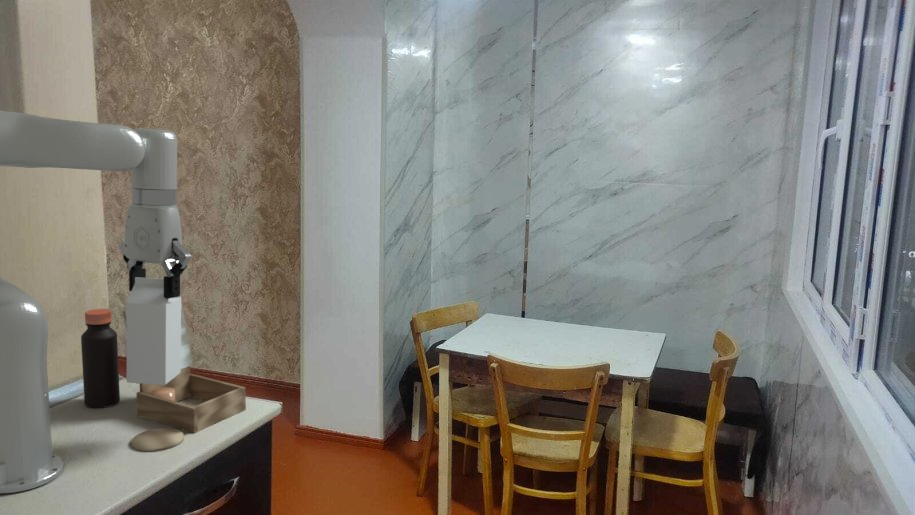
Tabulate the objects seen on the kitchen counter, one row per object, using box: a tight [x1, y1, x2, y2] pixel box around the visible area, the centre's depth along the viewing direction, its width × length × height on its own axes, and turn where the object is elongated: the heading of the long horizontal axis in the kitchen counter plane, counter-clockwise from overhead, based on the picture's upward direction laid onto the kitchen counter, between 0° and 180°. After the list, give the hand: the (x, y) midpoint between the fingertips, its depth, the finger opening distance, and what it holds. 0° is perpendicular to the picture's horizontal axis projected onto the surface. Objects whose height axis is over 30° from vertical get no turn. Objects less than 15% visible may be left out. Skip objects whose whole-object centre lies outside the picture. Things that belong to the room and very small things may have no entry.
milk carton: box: [125, 277, 182, 385], centre depth 129 cm, size 7×7×19 cm
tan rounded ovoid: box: [152, 387, 175, 401], centre depth 144 cm, size 4×4×5 cm
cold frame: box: [122, 302, 247, 434], centre depth 145 cm, size 14×19×22 cm
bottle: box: [80, 308, 121, 409], centre depth 148 cm, size 7×7×20 cm
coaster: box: [131, 427, 185, 452], centre depth 132 cm, size 9×9×1 cm
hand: (154, 293), depth 128 cm, fingers closed on milk carton, 8 cm apart
